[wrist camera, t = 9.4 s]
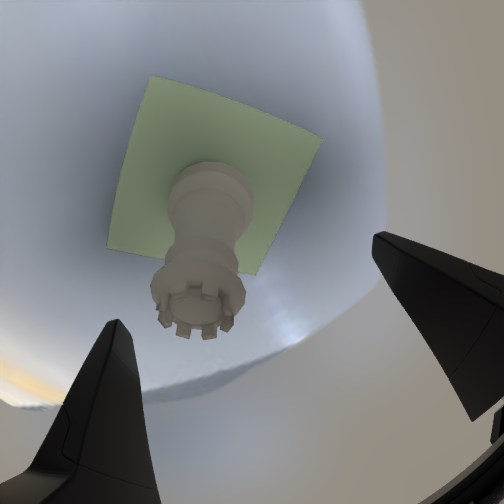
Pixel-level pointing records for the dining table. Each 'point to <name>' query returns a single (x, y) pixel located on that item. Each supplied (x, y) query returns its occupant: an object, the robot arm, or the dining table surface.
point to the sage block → (212, 150)
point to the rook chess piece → (204, 250)
